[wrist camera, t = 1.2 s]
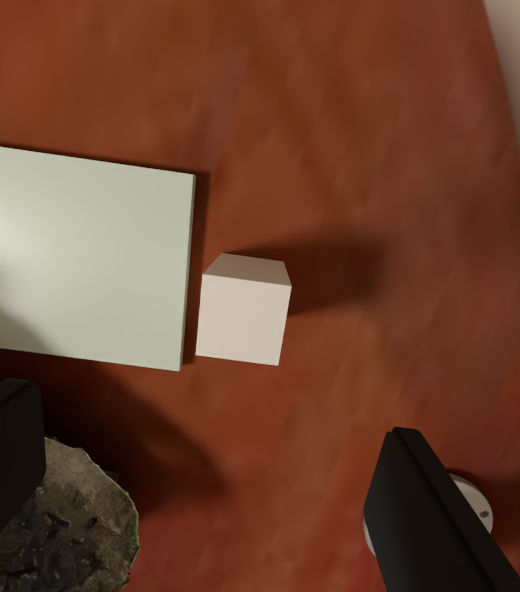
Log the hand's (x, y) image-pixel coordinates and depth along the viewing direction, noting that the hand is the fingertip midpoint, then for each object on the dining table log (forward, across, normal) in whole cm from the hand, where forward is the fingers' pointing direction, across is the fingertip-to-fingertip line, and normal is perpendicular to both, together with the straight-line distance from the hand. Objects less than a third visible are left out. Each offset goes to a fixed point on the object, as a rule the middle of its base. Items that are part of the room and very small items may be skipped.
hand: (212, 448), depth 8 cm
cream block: (+18, 0, 0) cm, 18 cm away
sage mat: (+18, +13, 0) cm, 22 cm away
